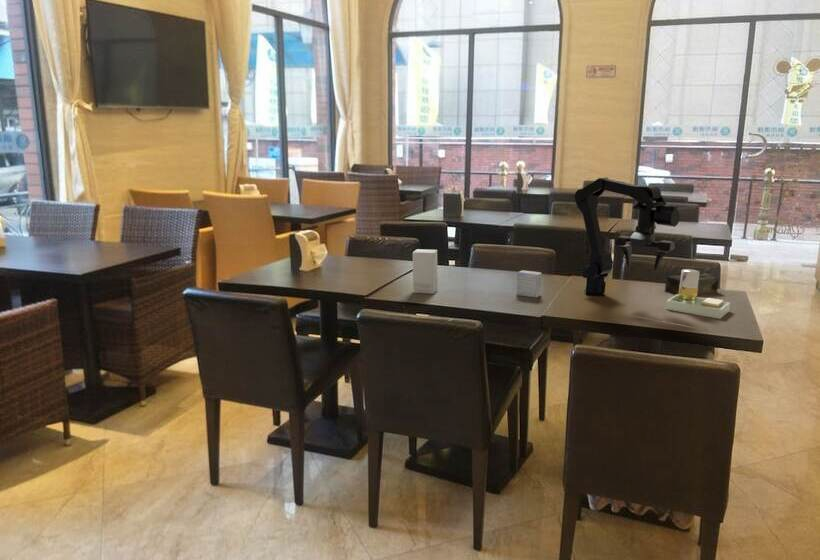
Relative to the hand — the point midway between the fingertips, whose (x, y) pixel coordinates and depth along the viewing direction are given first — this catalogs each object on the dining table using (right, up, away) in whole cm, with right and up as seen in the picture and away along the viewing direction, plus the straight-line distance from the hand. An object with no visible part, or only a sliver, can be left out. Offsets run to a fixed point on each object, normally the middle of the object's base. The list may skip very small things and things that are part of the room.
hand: (642, 267), depth 222 cm
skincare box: (-75, -9, +17) cm, 77 cm away
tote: (+17, -15, -5) cm, 23 cm away
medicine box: (-37, -10, +13) cm, 40 cm away
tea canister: (+14, -14, -3) cm, 20 cm away
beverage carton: (+26, -9, +21) cm, 35 cm away
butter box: (+20, -15, -8) cm, 26 cm away
